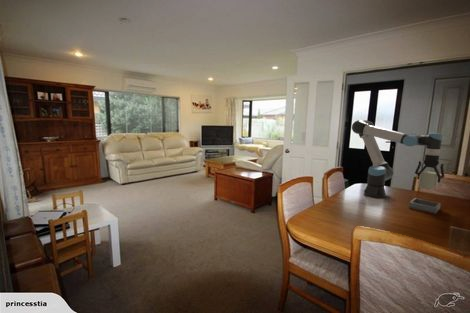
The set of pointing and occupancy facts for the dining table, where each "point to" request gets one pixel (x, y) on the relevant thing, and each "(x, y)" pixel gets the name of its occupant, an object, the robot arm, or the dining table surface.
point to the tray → (424, 205)
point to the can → (428, 180)
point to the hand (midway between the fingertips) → (427, 185)
